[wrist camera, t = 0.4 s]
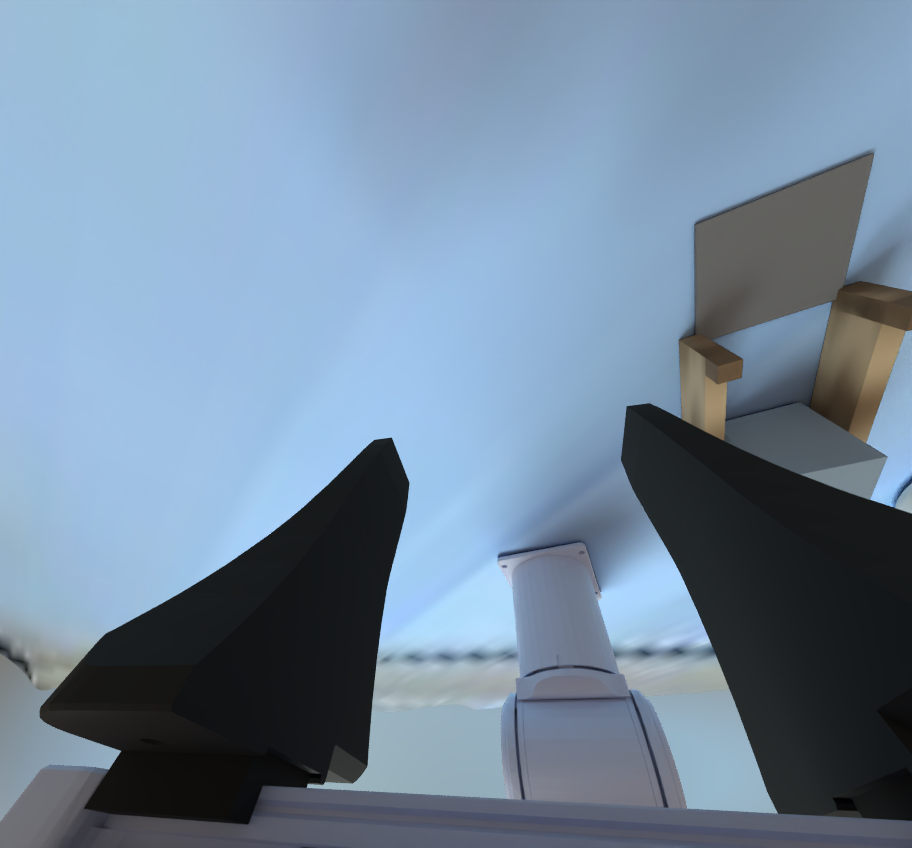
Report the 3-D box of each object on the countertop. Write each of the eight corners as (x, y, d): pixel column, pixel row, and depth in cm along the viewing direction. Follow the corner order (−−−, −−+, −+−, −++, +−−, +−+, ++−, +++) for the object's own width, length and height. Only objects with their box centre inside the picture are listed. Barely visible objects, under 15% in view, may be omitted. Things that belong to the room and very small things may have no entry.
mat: (838, 297, 16) (840, 298, 16) (695, 342, 18) (696, 343, 18) (870, 153, 13) (874, 153, 13) (694, 224, 15) (696, 225, 15)
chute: (813, 468, 22) (862, 508, 19) (684, 495, 24) (712, 534, 21) (860, 281, 16) (947, 298, 13) (678, 339, 18) (717, 366, 15)
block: (786, 471, 22) (855, 533, 18) (712, 487, 23) (762, 547, 19) (799, 402, 19) (887, 456, 15) (714, 423, 20) (774, 479, 16)
